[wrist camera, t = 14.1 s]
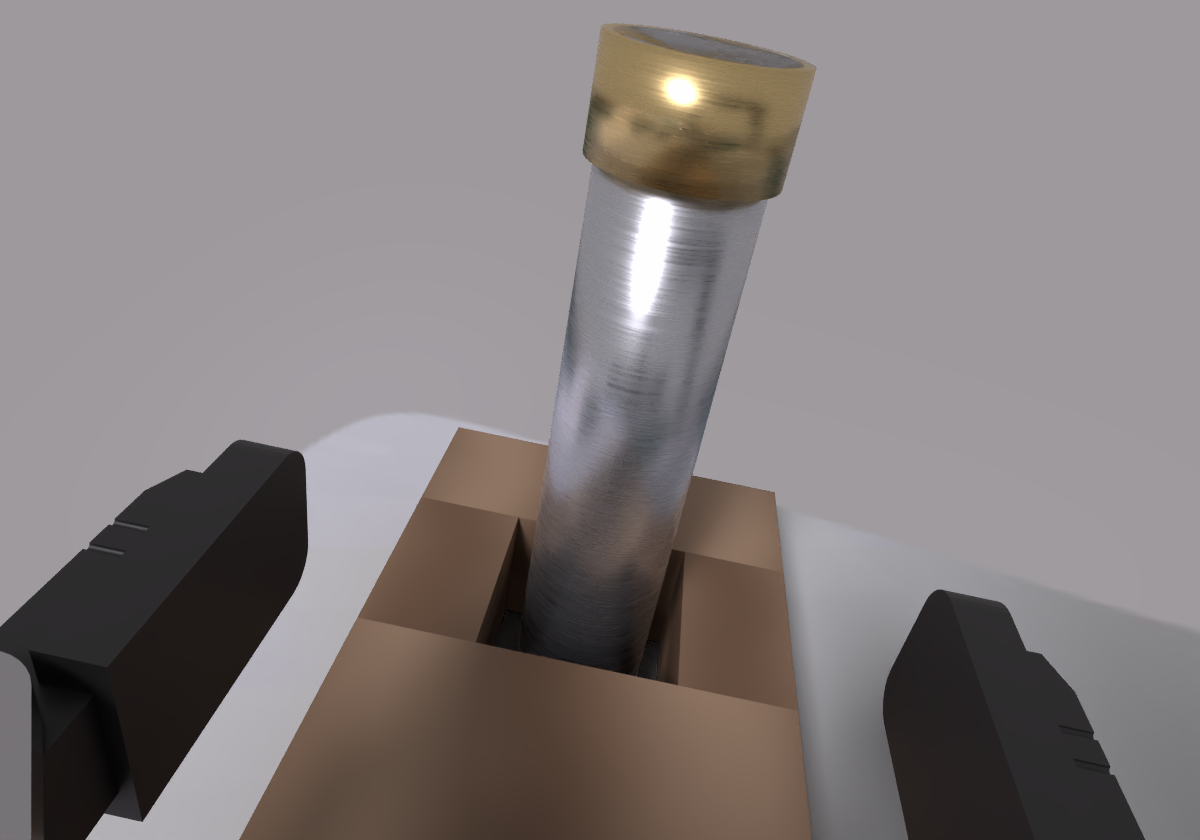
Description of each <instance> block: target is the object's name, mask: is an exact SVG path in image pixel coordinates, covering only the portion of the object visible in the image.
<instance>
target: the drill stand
mask: <svg viewBox="0 0 1200 840" xmlns="http://www.w3.org/2000/svg"><path fill="white" fill-rule="evenodd" d="M547 451H548V446H547V445H542V444H537V443H532V442H527V441H522V440H518V439H513V438H508V437H503V436H498V435H493V434H489V433H484V432H479V431H474V430H469V429H464V428H458V430H457V432H456V433H455V435H454V437H453V439H452V441H451V443H450V445H449V447H448V449H447V450H446V452H445V454H444V456H443V458H442V460H441V462H440V464H439V465H438V467H437V469H436V471H435V473H434V475H433V477H432V479H431V480H430V482H429V484H428V486H427V488H426V490H425V492H424V494H423V495H422V497H421V499H420V501H419V503H418V505H417V507H416V509H415V511H414V512H413V514H412V516H411V518H410V520H409V522H408V524H407V526H406V527H405V529H404V531H403V533H402V535H401V537H400V539H399V541H398V542H397V544H396V546H395V548H394V550H393V552H392V554H391V556H390V557H389V559H388V561H387V563H386V565H385V567H384V569H383V571H382V573H381V574H380V576H379V578H378V580H377V582H376V584H375V586H374V588H373V589H372V591H371V593H370V595H369V597H368V599H367V601H366V603H365V604H364V606H363V608H362V610H361V612H360V614H359V616H358V618H357V619H356V621H355V623H354V625H353V627H352V629H351V631H350V633H349V635H348V636H347V638H346V640H345V642H344V644H343V646H342V648H341V650H340V651H339V653H338V655H337V657H336V659H335V661H334V663H333V665H332V666H331V668H330V670H329V672H328V674H327V676H326V678H325V680H324V682H323V683H322V685H321V687H320V689H319V691H318V693H317V695H316V697H315V698H314V700H313V702H312V704H311V706H310V708H309V710H308V712H307V713H306V715H305V717H304V719H303V721H302V723H301V725H300V727H299V728H298V730H297V732H296V734H295V736H294V738H293V740H292V742H291V744H290V745H289V747H288V749H287V751H286V753H285V755H284V757H283V759H282V760H281V762H280V764H279V766H278V768H277V770H276V772H275V774H274V775H273V777H272V779H271V781H270V783H269V785H268V787H267V789H266V790H265V792H264V794H263V796H262V798H261V800H260V802H259V804H258V806H257V807H256V809H255V811H254V813H253V815H252V817H251V819H250V821H249V822H248V824H247V826H246V828H245V830H244V832H243V834H242V836H241V837H240V839H239V840H812V835H811V826H810V817H809V807H808V798H807V789H806V779H805V770H804V761H803V752H802V742H801V733H800V724H799V714H798V705H797V696H796V687H795V677H794V668H793V659H792V649H791V640H790V631H789V622H788V612H787V603H786V594H785V584H784V575H783V566H782V557H781V547H780V538H779V529H778V519H777V510H776V501H775V493H774V492H770V491H765V490H760V489H755V488H750V487H746V486H741V485H736V484H731V483H726V482H721V481H716V480H711V479H707V478H702V477H697V476H692V478H691V481H690V485H689V489H688V492H687V496H686V499H685V503H684V507H683V510H682V514H681V518H680V521H679V525H678V529H677V532H676V536H675V540H674V543H673V547H672V551H671V554H670V558H669V562H668V565H667V569H666V573H665V576H664V580H663V583H662V587H661V591H660V594H659V598H658V602H657V605H656V609H655V613H654V616H653V620H652V624H651V627H650V631H649V635H648V638H647V640H652V641H657V642H659V650H658V662H657V675H656V681H655V680H650V679H645V678H641V677H636V676H631V675H627V674H622V673H617V672H612V671H608V670H603V669H598V668H594V667H589V666H584V665H579V664H575V663H570V662H565V661H561V660H556V659H551V658H546V657H542V656H537V655H532V654H528V653H523V652H518V651H513V650H509V649H504V648H499V647H495V646H494V645H495V642H496V639H497V636H498V633H499V629H500V626H501V623H502V620H503V617H504V613H505V610H510V611H515V612H519V613H522V612H523V606H524V599H525V593H526V587H527V580H528V574H529V567H530V561H531V554H532V548H533V542H534V535H535V529H536V522H537V516H538V509H539V503H540V496H541V490H542V484H543V477H544V471H545V464H546V458H547Z"/></svg>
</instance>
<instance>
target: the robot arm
mask: <svg viewBox="0 0 1200 840" xmlns="http://www.w3.org/2000/svg"><path fill="white" fill-rule="evenodd" d="M307 552H308V527H307V498H306V469H305V461H304V458H303V456H302V454H301V453H300V452H298V451H293V450H288V449H283V448H279V447H274V446H269V445H265V444H260V443H255V442H250V441H246V440H238V441H236V442H234V443H232V444H231V445H230V446H229V447H228V448H227V449H226V450H225V451H224V452H223V453H222V454H221V455H220V456H219V457H218V458H217V459H216V460H215V461H214V462H213V463H212V464H211V465H210V466H209V467H208V468H207V469H206V470H205V471H204V472H203V473H199V472H195V471H190V470H185V471H183V472H181V473H179V474H177V475H175V476H173V477H171V478H169V479H167V480H165V481H163V482H161V483H159V484H157V485H155V486H153V487H151V488H149V489H147V490H145V491H144V492H143V493H142V494H141V495H140V496H139V497H138V498H137V499H135V500H134V502H132V503H131V504H130V505H129V506H128V507H127V508H126V509H125V510H124V511H123V512H122V513H121V514H120V515H118V516H117V517H116V518H115V522H114V524H113V525H108V526H107V527H106V528H105V529H104V530H103V531H101V532H100V533H99V534H98V535H97V536H96V537H95V538H94V539H93V540H92V541H91V542H90V545H89V548H88V549H87V550H85V549H82V550H81V551H80V552H79V553H78V554H77V555H76V556H75V557H74V558H73V559H72V560H71V561H70V562H69V563H68V564H67V565H65V567H63V568H62V569H61V570H60V571H59V572H58V573H57V574H56V575H55V576H54V577H53V578H52V579H51V580H50V581H48V582H47V584H45V585H44V586H43V587H42V588H41V589H40V590H39V591H38V592H37V593H36V594H35V595H34V596H33V597H32V598H30V599H29V600H28V601H27V602H26V603H25V604H24V605H23V606H22V607H21V608H20V609H19V610H18V611H17V612H16V613H15V614H13V615H12V616H11V617H10V618H9V619H8V620H7V621H6V622H5V623H4V624H3V625H2V626H1V627H0V840H85V839H86V838H87V836H88V835H89V834H90V832H91V831H92V829H93V828H94V827H95V825H96V824H97V822H98V821H99V820H100V818H101V817H102V815H103V814H104V813H105V814H110V815H114V816H119V817H123V818H128V819H132V820H136V821H141V822H143V820H144V819H145V817H146V816H147V814H148V813H149V811H150V810H151V808H152V807H153V805H154V804H155V802H156V800H157V799H158V797H159V796H160V794H161V793H162V791H163V790H164V788H165V787H166V785H167V784H168V782H169V781H170V779H171V778H172V776H173V775H174V773H175V772H176V770H177V769H178V767H179V766H180V764H181V763H182V761H183V760H184V758H185V757H186V755H187V754H188V752H189V751H190V749H191V748H192V746H193V745H194V743H195V742H196V740H197V738H198V737H199V735H200V734H201V732H202V731H203V729H204V728H205V726H206V725H207V723H208V722H209V720H210V719H211V717H212V716H213V714H214V713H215V711H216V710H217V708H218V707H219V705H220V704H221V702H222V701H223V699H224V698H225V696H226V695H227V693H228V692H229V690H230V689H231V687H232V686H233V684H234V683H235V681H236V680H237V678H238V676H239V675H240V673H241V672H242V670H243V669H244V667H245V666H246V664H247V663H248V661H249V660H250V658H251V657H252V655H253V654H254V652H255V651H256V649H257V648H258V646H259V645H260V643H261V642H262V640H263V639H264V637H265V636H266V634H267V633H268V631H269V630H270V628H271V627H272V625H273V624H274V622H275V621H276V619H277V618H278V616H279V614H280V613H281V611H282V610H283V608H284V607H285V605H286V604H287V602H288V601H289V599H290V598H291V596H292V595H293V593H294V591H295V590H296V588H297V586H298V584H299V581H300V579H301V576H302V573H303V570H304V567H305V563H306V558H307ZM883 718H884V725H885V730H886V735H887V739H888V744H889V749H890V754H891V758H892V763H893V768H894V773H895V777H896V782H897V787H898V791H899V796H900V801H901V806H902V810H903V815H904V820H905V825H906V829H907V834H908V839H909V840H1145V838H1144V836H1143V834H1142V832H1141V830H1140V828H1139V826H1138V824H1137V822H1136V819H1135V817H1134V815H1133V813H1132V811H1131V809H1130V807H1129V805H1128V803H1127V801H1126V798H1125V796H1124V794H1123V792H1122V790H1121V788H1120V786H1119V784H1118V782H1117V779H1116V777H1115V775H1110V773H1109V768H1110V765H1109V763H1108V761H1107V758H1106V756H1105V754H1104V752H1103V750H1102V748H1101V746H1100V744H1099V742H1098V741H1097V740H1094V739H1093V734H1094V731H1093V729H1092V727H1091V725H1090V723H1089V721H1088V719H1087V716H1086V714H1085V712H1084V710H1083V708H1082V706H1081V704H1080V702H1079V700H1078V698H1077V695H1076V693H1075V692H1074V690H1073V689H1072V688H1071V687H1070V686H1069V685H1068V684H1067V683H1066V681H1065V680H1064V679H1063V678H1062V677H1061V676H1060V675H1059V674H1058V672H1057V671H1056V670H1055V669H1054V668H1053V667H1052V666H1051V664H1050V663H1049V662H1048V661H1047V660H1046V659H1045V658H1044V657H1043V655H1042V654H1039V653H1034V652H1029V651H1026V649H1025V647H1024V644H1023V642H1022V640H1021V637H1020V635H1019V633H1018V631H1017V628H1016V626H1015V624H1014V621H1013V619H1012V617H1011V614H1010V612H1009V611H1008V609H1007V608H1006V606H1005V605H1004V604H1002V603H1000V602H997V601H992V600H987V599H983V598H978V597H973V596H969V595H964V594H959V593H954V592H950V591H945V590H936V591H934V592H933V593H932V594H931V595H930V596H929V597H928V599H927V600H926V602H925V604H924V606H923V608H922V610H921V612H920V614H919V616H918V618H917V620H916V622H915V624H914V626H913V628H912V629H911V631H910V633H909V635H908V637H907V639H906V641H905V643H904V645H903V647H902V649H901V651H900V653H899V655H898V657H897V659H896V661H895V663H894V665H893V667H892V669H891V671H890V673H889V676H888V679H887V682H886V686H885V691H884V699H883Z"/></svg>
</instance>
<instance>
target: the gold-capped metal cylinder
mask: <svg viewBox="0 0 1200 840" xmlns="http://www.w3.org/2000/svg"><path fill="white" fill-rule="evenodd" d="M815 72H816V67H815V66H814V65H812V64H810V63H808V62H806V61H804V60H801V59H798V58H796V57H793V56H789V55H787V54H783V53H780V52H776V51H773V50H769V49H766V48H761V47H758V46H753V45H750V44H745V43H741V42H736V41H732V40H727V39H722V38H718V37H713V36H707V35H702V34H697V33H692V32H686V31H679V30H673V29H666V28H659V27H651V26H643V25H633V24H604V25H602V26H601V30H600V37H599V44H598V51H597V57H596V64H595V71H594V78H593V84H592V91H591V98H590V105H589V111H588V118H587V125H586V132H585V139H584V145H583V155H584V156H585V158H586V159H588V161H589V162H591V163H592V168H591V174H590V181H589V188H588V194H587V200H586V207H585V213H584V220H583V226H582V232H581V239H580V246H579V252H578V258H577V265H576V271H575V277H574V284H573V290H572V297H571V303H570V310H569V316H568V323H567V329H566V335H565V342H564V349H563V355H562V361H561V368H560V374H559V381H558V387H557V394H556V401H555V406H554V413H553V419H552V427H551V433H550V439H549V445H548V451H547V458H546V464H545V471H544V477H543V484H542V490H541V496H540V503H539V509H538V516H537V522H536V529H535V535H534V542H533V548H532V554H531V561H530V567H529V574H528V580H527V587H526V593H525V599H524V606H523V612H522V619H521V625H520V632H519V638H518V645H517V651H518V652H523V653H528V654H532V655H537V656H542V657H546V658H551V659H556V660H561V661H565V662H570V663H575V664H579V665H584V666H589V667H594V668H598V669H603V670H608V671H612V672H617V673H622V674H627V675H631V676H636V677H637V675H638V671H639V667H640V664H641V660H642V656H643V653H644V649H645V646H646V642H647V638H648V635H649V631H650V627H651V624H652V620H653V616H654V613H655V609H656V605H657V602H658V598H659V594H660V591H661V587H662V583H663V580H664V576H665V573H666V569H667V565H668V562H669V558H670V554H671V551H672V547H673V543H674V540H675V536H676V532H677V529H678V525H679V521H680V518H681V514H682V510H683V507H684V503H685V499H686V496H687V492H688V489H689V485H690V481H691V478H692V474H693V470H694V466H695V463H696V459H697V456H698V452H699V448H700V445H701V441H702V437H703V434H704V430H705V426H706V422H707V419H708V416H709V412H710V408H711V404H712V401H713V397H714V393H715V390H716V386H717V382H718V379H719V375H720V371H721V368H722V364H723V361H724V357H725V353H726V350H727V346H728V342H729V339H730V335H731V332H732V328H733V324H734V320H735V316H736V313H737V310H738V306H739V302H740V298H741V295H742V291H743V288H744V284H745V280H746V277H747V273H748V269H749V266H750V262H751V259H752V255H753V251H754V248H755V244H756V240H757V237H758V233H759V229H760V226H761V222H762V218H763V215H764V211H765V207H766V204H767V200H768V199H770V198H773V197H776V196H778V195H779V194H780V193H781V191H782V189H783V185H784V182H785V178H786V175H787V171H788V168H789V164H790V161H791V157H792V153H793V150H794V146H795V142H796V139H797V135H798V132H799V129H800V125H801V122H802V118H803V114H804V111H805V107H806V104H807V100H808V97H809V93H810V90H811V86H812V82H813V79H814V75H815Z"/></svg>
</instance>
